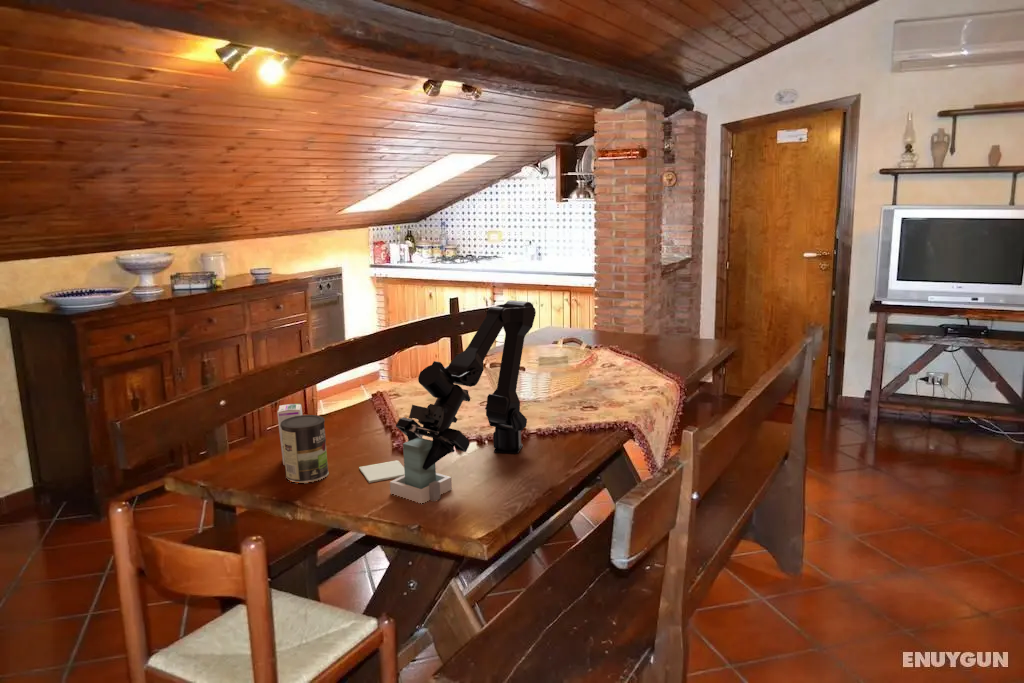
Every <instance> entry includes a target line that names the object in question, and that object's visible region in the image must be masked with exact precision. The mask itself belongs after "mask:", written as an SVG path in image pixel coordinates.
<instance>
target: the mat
mask: <svg viewBox="0 0 1024 683" xmlns="http://www.w3.org/2000/svg"><path fill="white" fill-rule="evenodd" d="M358 469H359V471H360V472H361V474H362V475H363V476H364V478H365V479H366V481H367V482H368V484H370V483H376V482H381V481H387V480H392V479H393V480H394V479H397V478H399V477H401V476H404V475H405V470H404V464H402V463H401V462H400V461H399V459H398V460H397V459H396V460H391V461H390V460H389V461H386V462H380V463H375V464H368V465H363V466H359V467H358Z"/></svg>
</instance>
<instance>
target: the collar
mask: <svg viewBox="0 0 1024 683" xmlns="http://www.w3.org/2000/svg"><path fill="white" fill-rule="evenodd" d="M452 480H453V479H452V477H451V476H448V475H446V474H445V475H444V474H442V473H439V472H436V481H434V482H432V483H429V486H427V487H425V488H423V489H419V488H416V487H413V486H409V485H406V484H405V475H404V476H401V477H398V478H394V479H393V480H391V481H389V492H390V493H391V494H390V495H392V494H394V495H393V496H395V495H397V496H396V497H398V496H400V497H399V498H401V497H403V498H402V499H404V498H406V499H405V500H407V499H409V500H408V501H410V500H412V501H411V502H413V501H416V502H415V503H417V502H418V504H420V503H421V504H420V505H423V504H422V503H424V504H425V502H426V503H428V502H430V501H429V500H432V501H431V502H433V501H435V502H437V501H438V499H439V500H441V494H442V495H443V493H444V494H445V493H448V492H450V491H451V490H453V483H452ZM436 500H437V501H436ZM427 501H428V502H427Z"/></svg>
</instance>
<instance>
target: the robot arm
mask: <svg viewBox="0 0 1024 683" xmlns="http://www.w3.org/2000/svg"><path fill="white" fill-rule="evenodd" d="M536 312H537V311H536V308H535V307H534V305H533V303H532V302H530V301H523V300H511V299H509V300H507V301H505V303H504V304H503V303H502V304H496V306H495V305H493V306H490V307H488V309H487V311H486V316H485V317H484V319H483V321H482V323H481V324H480V326H479V327H478V329H477V331H476V333H474V336H473V337H472V339H471V340H470V342H469V344H468V346H467V347H466V349H464V350H463V351H462V352H460V353H458V354H456V356H455V357H454V358H453V359H452V361H450V363H449V364H448V366H446V367H445V366H444V364H443V363H442V362H441V361H436V360H434V361H433V362H432V364H431V365H428V366H425V368H424V369H423V370H420V372H419V374H418V378H417V379H418V383H419V384H420V386H422V387H423V388H424V389H425V390H426V391H427V393H429V395H431V396H432V397H433V398H435V399H436V400H435V402H434V403H433V404H432V403H430V404H428V405H427V407H423V406H419V405H415V404H412V405H411V408H410V412H409V416H408V418H407V417H405V416H404V417H400V418H399V419H398V420H397V422H396V425H395V427H396V428H397V429H398V430H399V431H401V433H403V434H404V435H405V436H406V437H407V442H408V441H410V440H413V439H415V438H418V437H419V438H423V436H424V437H427V438H431V439H432V441H433V445H432V448H431V450H430V452H429V454H428V456H427V458H426V460H425V462H424V465H423V469H424V470H427V469H428V468H429V467H431V466H432V465H433V464H435V465H436V463H437V462H439V461H440V460H441V459H443V458H444V457H446V456H448V454H450V453H455V449H456V451H460V452H465V453H466V452H467V451H468V449H469V446H470V439H469V438H468V437H467V436H466V435H465V434H464V433H463V432H462V431H460V430H458V429H454V428H451V425H452V424H454V423H455V424H457V421H458V418H457V417H456V415H457V414H458V411H459V410H460V407H461V406H462V404H463V402H464V401H465V402H471V396H470V395H469V390H468V389H463V388H462V387H461V386H463V387H464V386H465V387H475V386H476V385H477V384H478V383H479V381H480V379H481V377H482V375H483V372H484V369H485V368H484V361H485V358H486V356H487V354H488V353H489V352H490V349H491V348H492V346H493V344H494V343H495V341H496V339H497V338H498V337H499V334H500V332H501V331H502V329H504V330H503V331H504V332H505V333H504V336H505V337H504V341H503V349H502V356H501V362H500V366H499V371H498V372H499V373H498V374H499V375H498V378H497V380H498V381H497V386H496V389H495V390H494V392H492V394H491V393H488V395H487V397H486V405H485V408H484V409H485V410H486V411H485V416H486V417H487V421H488V424H489V427H494V431H493V433H492V434H493V435H492V439H493V448H494V449H493V450H494V452H493V453H498V454H499V453H503V454H519V452H520V451H521V449H522V448H523V446H524V444H523V443H522V431H524V429H525V428H526V427H527V423H528V418H527V417H526V416H524V414H523V413H522V412H521V409H520V408H521V401H520V398H519V396H518V393H517V389H518V388H517V386H518V379H519V374H520V367H521V362H522V361H521V360H522V355H523V350H524V343H525V337H526V336H527V334H528V333H529V332H530V330H531V329H532V328H533V325H534V321H535V317H536ZM415 419H416V420H418V421H415ZM421 425H422V426H421ZM454 448H455V449H454Z"/></svg>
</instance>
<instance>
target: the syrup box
mask: <svg viewBox="0 0 1024 683" xmlns="http://www.w3.org/2000/svg"><path fill="white" fill-rule="evenodd" d="M302 408H303V405H302V403H288V404H282V405H281V404H279V406H278V409H277V414H276V415H277V421H278V432H279V440H280V450H281V457H282V464H283V466H285V460H284V449H283V439H282V428H281V425H280V424H281V422H282V421H283V420H285V419H288V418H291V417H294V416H301V415H303V409H302Z"/></svg>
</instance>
